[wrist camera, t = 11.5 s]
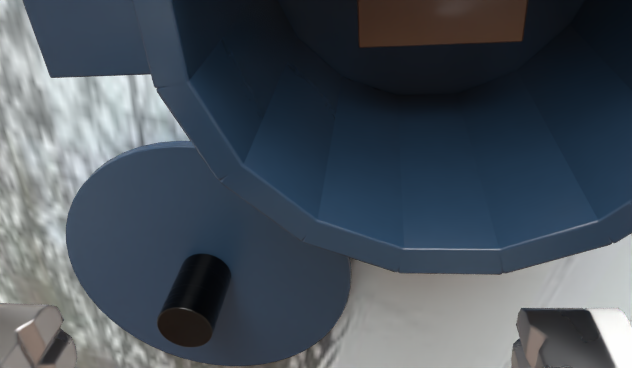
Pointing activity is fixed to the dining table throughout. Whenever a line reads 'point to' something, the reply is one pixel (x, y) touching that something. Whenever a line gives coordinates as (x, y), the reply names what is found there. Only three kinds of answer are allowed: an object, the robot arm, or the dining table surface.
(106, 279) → the lid
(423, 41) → the block
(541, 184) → the pot
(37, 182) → the dining table surface
